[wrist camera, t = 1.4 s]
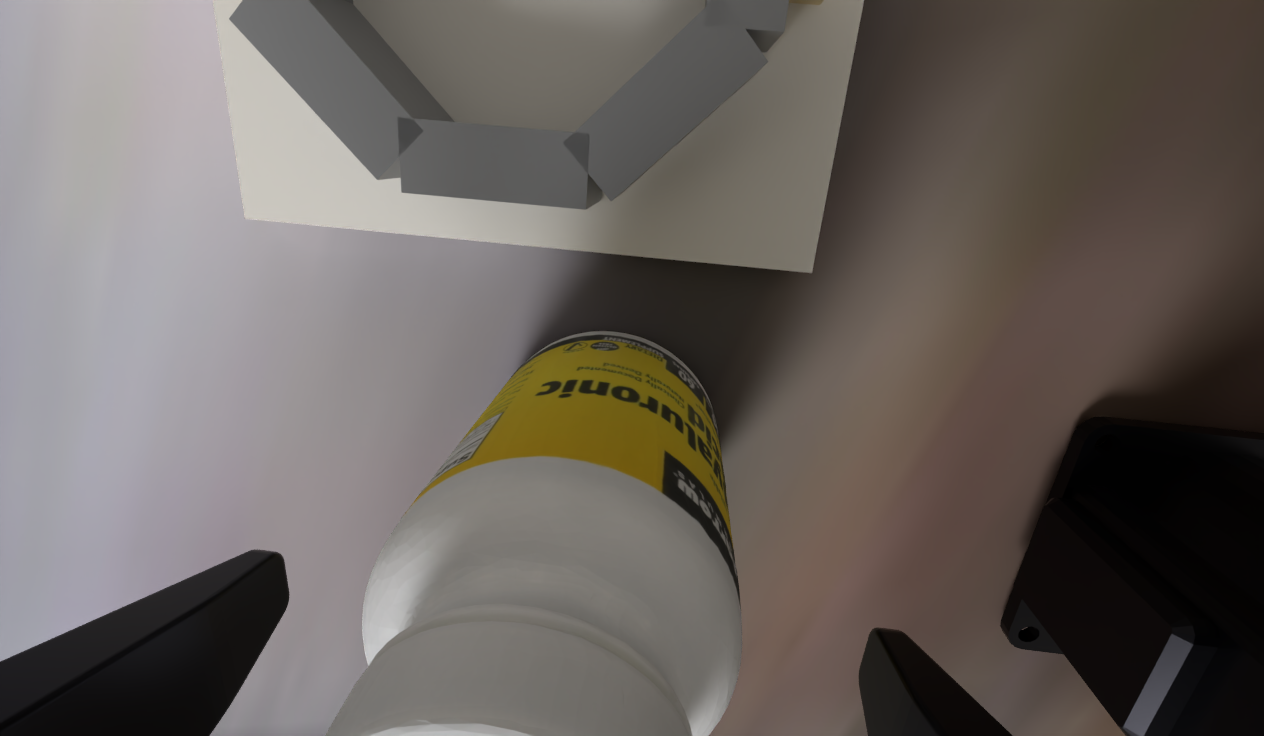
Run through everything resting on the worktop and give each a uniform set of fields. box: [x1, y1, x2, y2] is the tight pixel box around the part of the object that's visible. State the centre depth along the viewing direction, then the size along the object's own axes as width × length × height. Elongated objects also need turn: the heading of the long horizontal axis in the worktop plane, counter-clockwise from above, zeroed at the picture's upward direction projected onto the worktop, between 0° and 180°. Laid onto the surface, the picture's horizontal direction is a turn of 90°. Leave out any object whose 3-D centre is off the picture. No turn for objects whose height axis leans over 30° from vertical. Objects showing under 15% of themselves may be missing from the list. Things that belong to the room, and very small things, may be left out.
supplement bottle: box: [325, 331, 742, 736], centre depth 10 cm, size 5×5×10 cm
